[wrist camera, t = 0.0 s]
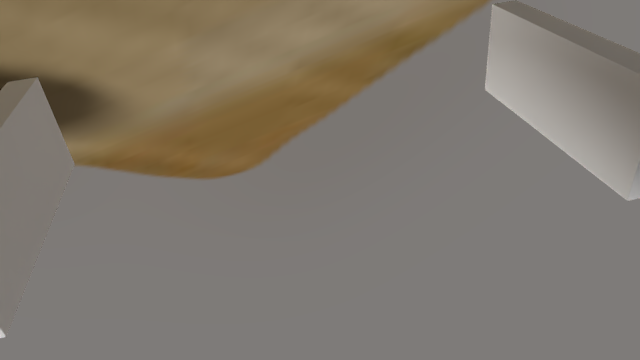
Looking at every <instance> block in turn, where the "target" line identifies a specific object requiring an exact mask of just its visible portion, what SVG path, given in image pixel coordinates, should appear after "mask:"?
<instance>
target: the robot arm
mask: <svg viewBox="0 0 640 360" xmlns="http://www.w3.org/2000/svg"><path fill="white" fill-rule="evenodd" d="M485 90H486V91H487V92H489V93H490V94H491V95H493V96H494V97H495V98H496V99H498V100H499V101H500V102H502V103H503V104H504V105H505V106H507V107H508V108H509V109H511V110H512V111H513V112H514V113H516V114H517V115H518V116H519V117H521V118H522V119H523V120H525V121H526V122H527V123H529V124H530V125H531V126H532V127H534V128H535V129H536V130H537V131H539V132H540V133H541V134H543V135H544V136H545V137H546V138H548V139H549V140H550V141H552V142H553V143H554V144H555V145H557V146H558V147H559V148H560V149H562V150H563V151H564V152H566V153H567V154H568V155H569V156H571V157H572V158H573V159H575V160H576V161H577V162H578V163H580V164H581V165H582V166H584V167H585V168H586V169H587V170H589V171H590V172H591V173H593V174H594V175H595V176H596V177H598V178H599V179H600V180H601V181H603V182H604V183H605V184H607V185H608V186H609V187H610V188H612V189H613V190H614V191H616V192H617V193H618V194H619V195H621V196H622V197H623V198H625V199H626V200H627V201H629V200H633V199H638V198H640V53H638V52H635V51H633V50H631V49H628V48H626V47H624V46H621V45H619V44H616V43H614V42H612V41H610V40H607V39H605V38H603V37H600V36H598V35H596V34H593V33H591V32H589V31H586V30H584V29H581V28H579V27H577V26H574V25H572V24H570V23H568V22H565V21H563V20H560V19H558V18H556V17H554V16H551V15H549V14H546V13H544V12H542V11H540V10H537V9H535V8H533V7H530V6H528V5H525V4H523V3H521V2H519V1H509V2H503V3H497V4H493V5H492V15H491V26H490V37H489V49H488V60H487V72H486V82H485ZM73 167H74V162H73V159H72V157H71V155H70V152H69V150H68V148H67V145H66V143H65V141H64V138H63V136H62V133H61V131H60V129H59V126H58V124H57V122H56V119H55V117H54V115H53V112H52V110H51V108H50V105H49V103H48V101H47V98H46V96H45V93H44V91H43V89H42V86H41V84H40V82H39V79H38V77H36V78H30V79H23V80H17V81H11V82H7V83H6V85H5V86H4V87H3V88H2V89H1V91H0V338H3V337H6V336H7V333H8V331H9V328H10V326H11V323H12V321H13V318H14V315H15V313H16V311H17V308H18V305H19V303H20V300H21V298H22V295H23V293H24V290H25V288H26V285H27V283H28V280H29V278H30V275H31V272H32V270H33V268H34V265H35V263H36V260H37V258H38V255H39V253H40V250H41V248H42V245H43V243H44V240H45V237H46V235H47V232H48V230H49V227H50V225H51V222H52V220H53V217H54V215H55V212H56V210H57V207H58V205H59V202H60V200H61V197H62V194H63V192H64V190H65V187H66V185H67V182H68V180H69V177H70V174H71V172H72V169H73Z"/></svg>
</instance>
